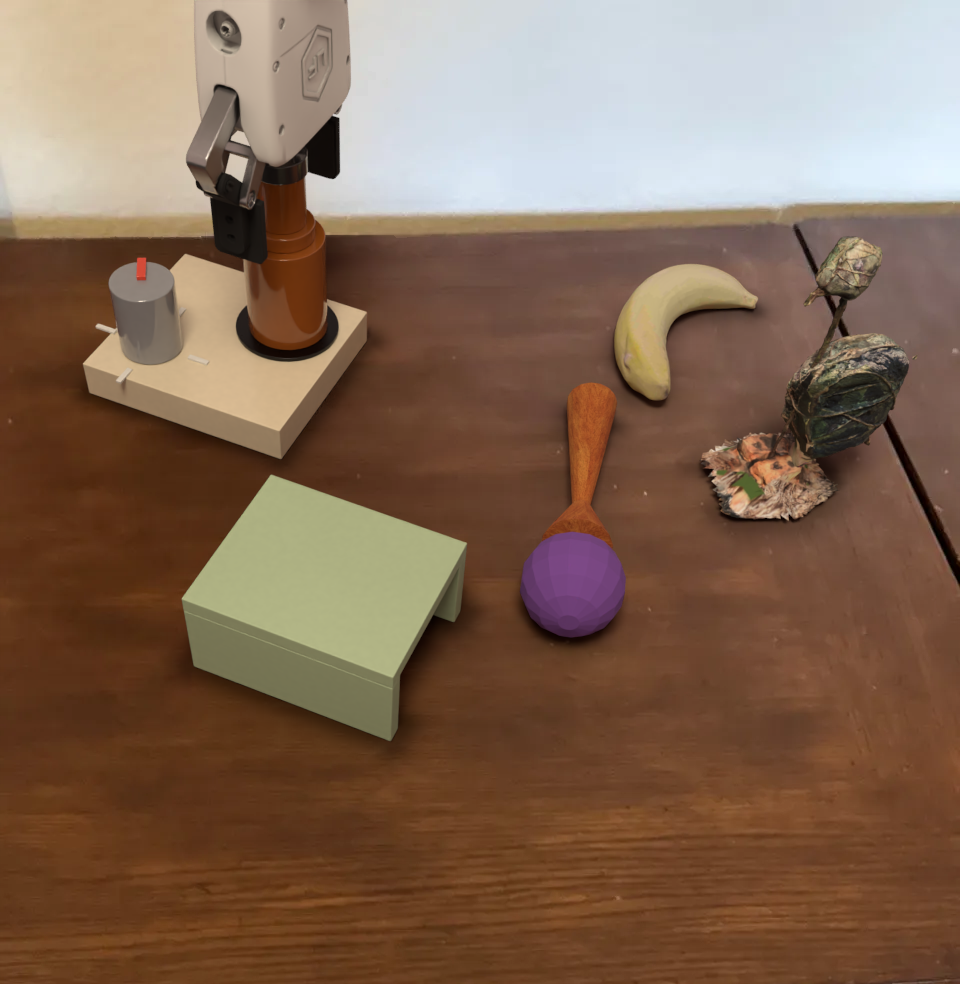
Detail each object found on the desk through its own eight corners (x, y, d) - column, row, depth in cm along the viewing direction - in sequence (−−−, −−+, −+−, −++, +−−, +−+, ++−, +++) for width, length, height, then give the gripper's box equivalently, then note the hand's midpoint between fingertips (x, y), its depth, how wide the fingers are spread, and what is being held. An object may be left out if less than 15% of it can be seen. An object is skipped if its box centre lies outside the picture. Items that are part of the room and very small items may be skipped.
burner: (217, 342, 82) (216, 339, 82) (265, 285, 86) (265, 281, 86) (310, 374, 81) (310, 370, 81) (355, 314, 85) (355, 310, 85)
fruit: (570, 371, 87) (577, 333, 84) (675, 268, 95) (684, 230, 92) (659, 417, 85) (669, 380, 82) (758, 307, 93) (770, 270, 90)
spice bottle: (234, 336, 82) (217, 160, 72) (271, 291, 85) (259, 117, 75) (306, 359, 82) (298, 185, 71) (340, 314, 85) (338, 141, 74)
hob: (69, 393, 82) (61, 361, 80) (175, 278, 90) (170, 246, 88) (277, 465, 79) (274, 435, 77) (367, 340, 87) (367, 309, 85)
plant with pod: (881, 527, 80) (1010, 264, 64) (708, 526, 79) (796, 258, 63) (850, 438, 85) (963, 173, 69) (687, 436, 84) (763, 166, 68)
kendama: (651, 381, 81) (638, 602, 68) (618, 449, 85) (601, 669, 72) (563, 354, 80) (533, 571, 67) (535, 424, 85) (502, 641, 71)
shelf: (193, 666, 70) (180, 598, 65) (276, 544, 75) (270, 473, 71) (390, 742, 68) (393, 677, 63) (460, 610, 73) (467, 542, 69)
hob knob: (183, 364, 81) (173, 296, 77) (119, 366, 80) (105, 298, 76) (183, 324, 83) (174, 256, 79) (121, 325, 83) (108, 257, 78)
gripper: (248, 7, 57) (269, 310, 71) (401, -130, 68) (393, 158, 81) (104, -34, 59) (152, 272, 72) (275, -163, 69) (289, 127, 82)
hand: (280, 211), depth 77 cm, fingers open, 9 cm apart
